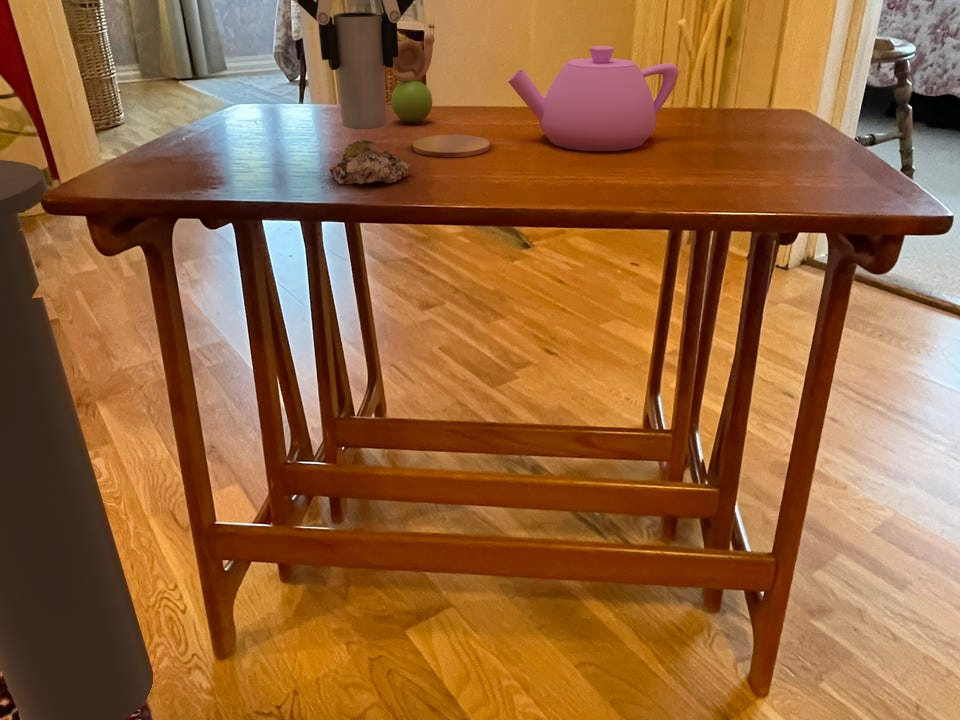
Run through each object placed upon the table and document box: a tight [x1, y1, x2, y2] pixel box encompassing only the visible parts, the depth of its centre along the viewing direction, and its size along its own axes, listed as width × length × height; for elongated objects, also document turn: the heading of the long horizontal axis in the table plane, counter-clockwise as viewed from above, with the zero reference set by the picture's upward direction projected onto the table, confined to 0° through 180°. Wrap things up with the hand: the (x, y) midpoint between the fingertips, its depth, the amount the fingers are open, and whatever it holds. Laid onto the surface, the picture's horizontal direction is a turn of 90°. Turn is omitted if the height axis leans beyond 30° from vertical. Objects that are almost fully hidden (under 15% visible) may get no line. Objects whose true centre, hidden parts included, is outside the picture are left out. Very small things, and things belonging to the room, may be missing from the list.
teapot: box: [507, 45, 680, 152], centre depth 93 cm, size 14×20×11 cm
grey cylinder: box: [332, 11, 388, 130], centre depth 77 cm, size 4×4×10 cm
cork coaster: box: [412, 134, 491, 158], centre depth 92 cm, size 9×9×1 cm
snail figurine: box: [390, 23, 436, 124], centre depth 102 cm, size 5×6×12 cm
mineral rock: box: [328, 139, 411, 185], centre depth 81 cm, size 11×4×8 cm
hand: (360, 64), depth 77 cm, fingers closed on grey cylinder, 4 cm apart
